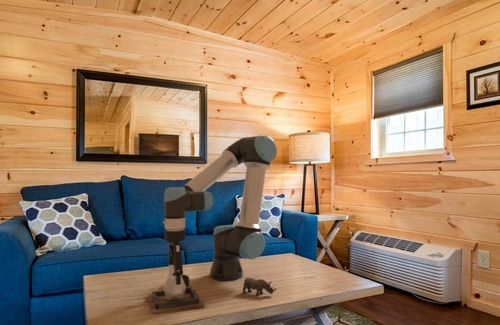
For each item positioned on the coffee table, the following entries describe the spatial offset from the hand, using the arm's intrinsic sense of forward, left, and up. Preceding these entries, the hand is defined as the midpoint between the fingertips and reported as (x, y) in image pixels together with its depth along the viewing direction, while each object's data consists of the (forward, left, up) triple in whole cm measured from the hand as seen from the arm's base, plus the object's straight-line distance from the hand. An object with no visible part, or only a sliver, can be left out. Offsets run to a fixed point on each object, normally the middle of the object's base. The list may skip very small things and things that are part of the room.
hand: (175, 287), depth 129 cm
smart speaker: (-18, +4, -6) cm, 19 cm away
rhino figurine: (+3, +32, -6) cm, 33 cm away
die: (0, 0, -4) cm, 5 cm away
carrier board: (0, 0, -5) cm, 5 cm away
